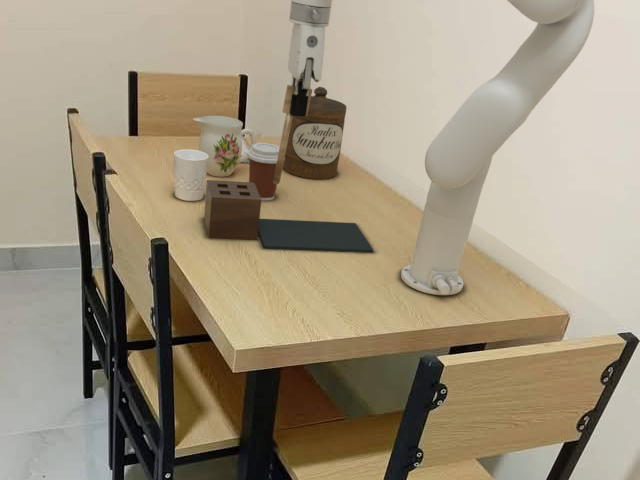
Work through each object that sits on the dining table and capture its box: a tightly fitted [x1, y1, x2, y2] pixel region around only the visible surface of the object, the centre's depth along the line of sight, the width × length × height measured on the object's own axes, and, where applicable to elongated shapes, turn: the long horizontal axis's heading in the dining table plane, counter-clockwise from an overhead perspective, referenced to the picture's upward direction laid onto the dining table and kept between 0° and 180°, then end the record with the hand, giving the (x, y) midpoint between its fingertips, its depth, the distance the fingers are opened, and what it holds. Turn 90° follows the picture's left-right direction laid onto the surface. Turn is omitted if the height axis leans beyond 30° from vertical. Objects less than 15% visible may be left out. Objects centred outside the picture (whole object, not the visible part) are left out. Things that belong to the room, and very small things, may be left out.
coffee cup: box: [247, 142, 285, 202], centre depth 178 cm, size 9×9×12 cm
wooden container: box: [283, 86, 347, 180], centre depth 197 cm, size 15×15×22 cm
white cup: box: [173, 148, 208, 202], centre depth 172 cm, size 8×8×10 cm
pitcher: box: [192, 115, 257, 177], centre depth 189 cm, size 11×18×14 cm, turn 119°
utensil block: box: [203, 179, 262, 241], centre depth 159 cm, size 10×10×9 cm
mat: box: [258, 218, 374, 253], centre depth 163 cm, size 15×24×1 cm, turn 100°
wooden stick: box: [273, 84, 313, 185], centre depth 150 cm, size 1×5×20 cm, turn 100°
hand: (296, 114), depth 148 cm, fingers closed on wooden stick, 1 cm apart
